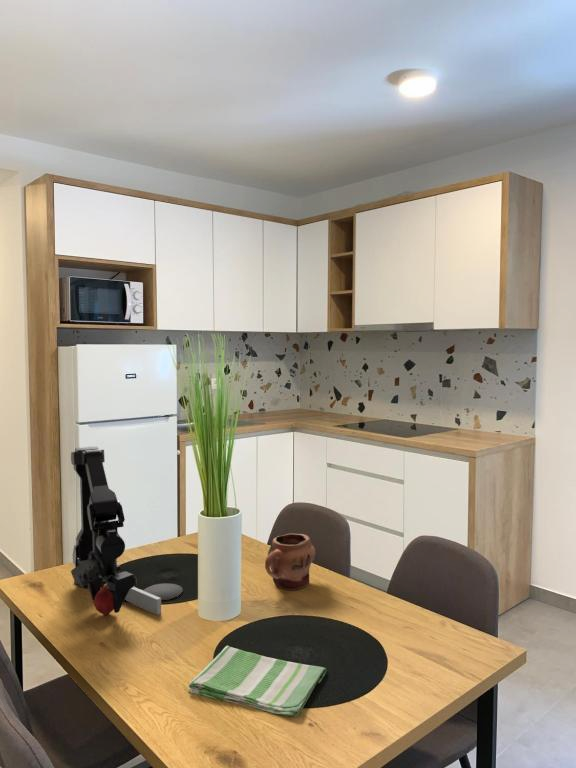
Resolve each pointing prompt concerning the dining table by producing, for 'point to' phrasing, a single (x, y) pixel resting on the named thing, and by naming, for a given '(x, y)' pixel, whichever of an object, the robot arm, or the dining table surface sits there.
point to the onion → (104, 601)
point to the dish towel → (257, 681)
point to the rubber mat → (165, 590)
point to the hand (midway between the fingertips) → (106, 607)
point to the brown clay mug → (290, 560)
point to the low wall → (144, 600)
